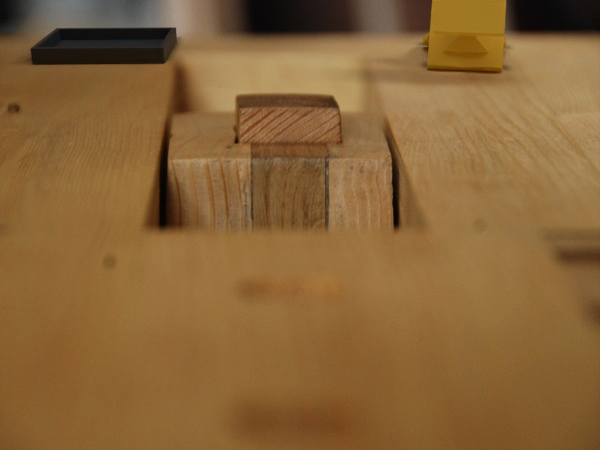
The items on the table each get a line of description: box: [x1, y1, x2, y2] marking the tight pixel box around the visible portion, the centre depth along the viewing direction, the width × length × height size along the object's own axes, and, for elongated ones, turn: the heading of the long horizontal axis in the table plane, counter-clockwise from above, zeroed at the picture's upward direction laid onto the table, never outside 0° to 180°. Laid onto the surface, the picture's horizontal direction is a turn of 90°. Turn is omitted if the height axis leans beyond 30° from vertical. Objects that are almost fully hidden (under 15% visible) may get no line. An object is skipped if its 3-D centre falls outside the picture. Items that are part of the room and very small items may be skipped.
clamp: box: [422, 0, 508, 73], centre depth 132 cm, size 14×25×12 cm
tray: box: [30, 26, 178, 65], centre depth 140 cm, size 22×17×3 cm
